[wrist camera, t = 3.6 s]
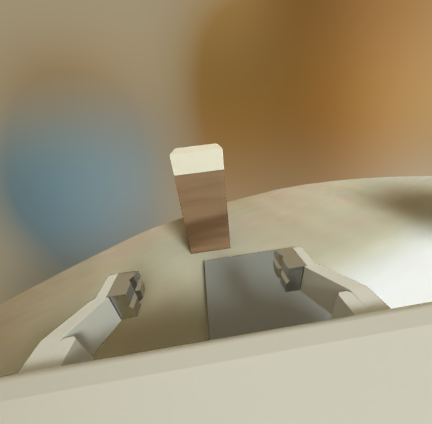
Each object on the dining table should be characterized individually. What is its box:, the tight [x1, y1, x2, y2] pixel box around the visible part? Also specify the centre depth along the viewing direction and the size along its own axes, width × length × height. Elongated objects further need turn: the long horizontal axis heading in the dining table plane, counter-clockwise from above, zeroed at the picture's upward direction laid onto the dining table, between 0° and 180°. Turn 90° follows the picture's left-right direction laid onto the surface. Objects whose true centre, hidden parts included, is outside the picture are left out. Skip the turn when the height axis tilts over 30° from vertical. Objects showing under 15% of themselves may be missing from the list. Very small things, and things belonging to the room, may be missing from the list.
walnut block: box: [170, 144, 230, 254], centre depth 21 cm, size 5×5×12 cm
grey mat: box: [204, 250, 332, 340], centre depth 13 cm, size 16×11×1 cm
